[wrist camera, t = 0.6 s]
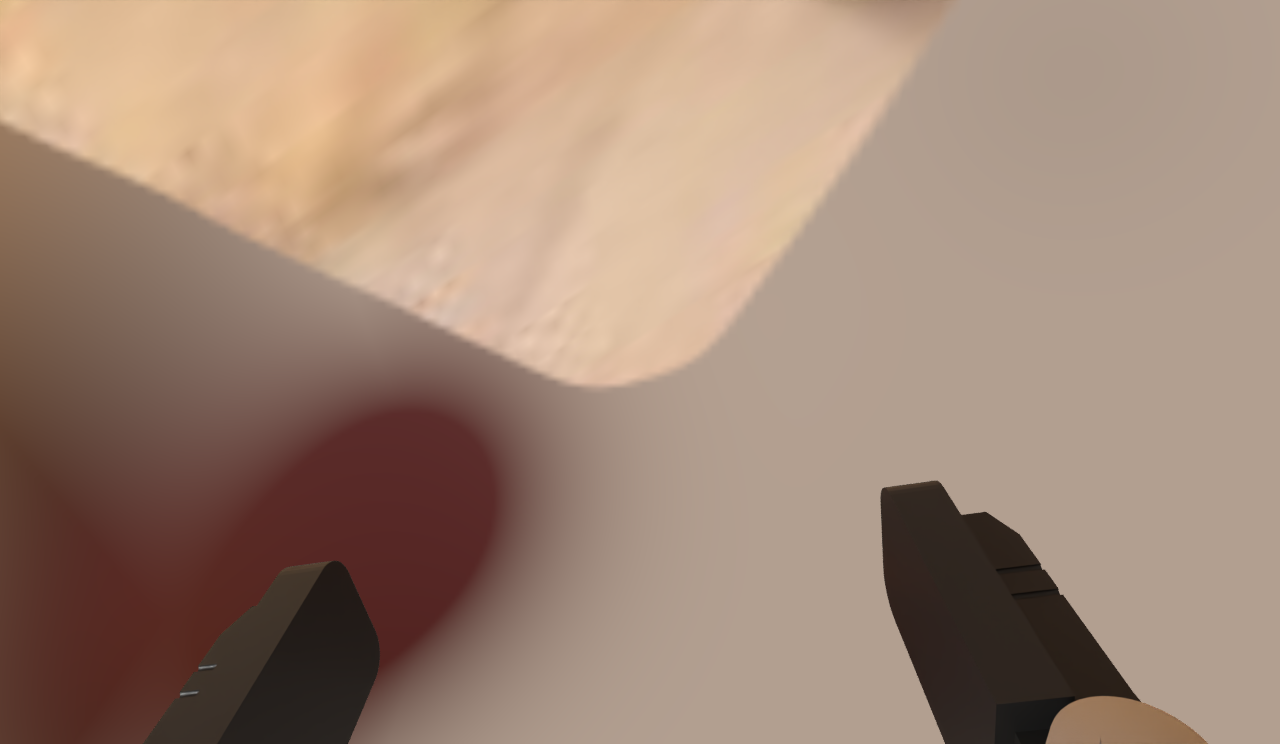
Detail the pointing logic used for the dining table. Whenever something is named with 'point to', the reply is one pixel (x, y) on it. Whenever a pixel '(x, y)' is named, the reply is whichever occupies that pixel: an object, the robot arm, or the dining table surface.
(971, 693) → the robot arm
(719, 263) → the dining table surface
